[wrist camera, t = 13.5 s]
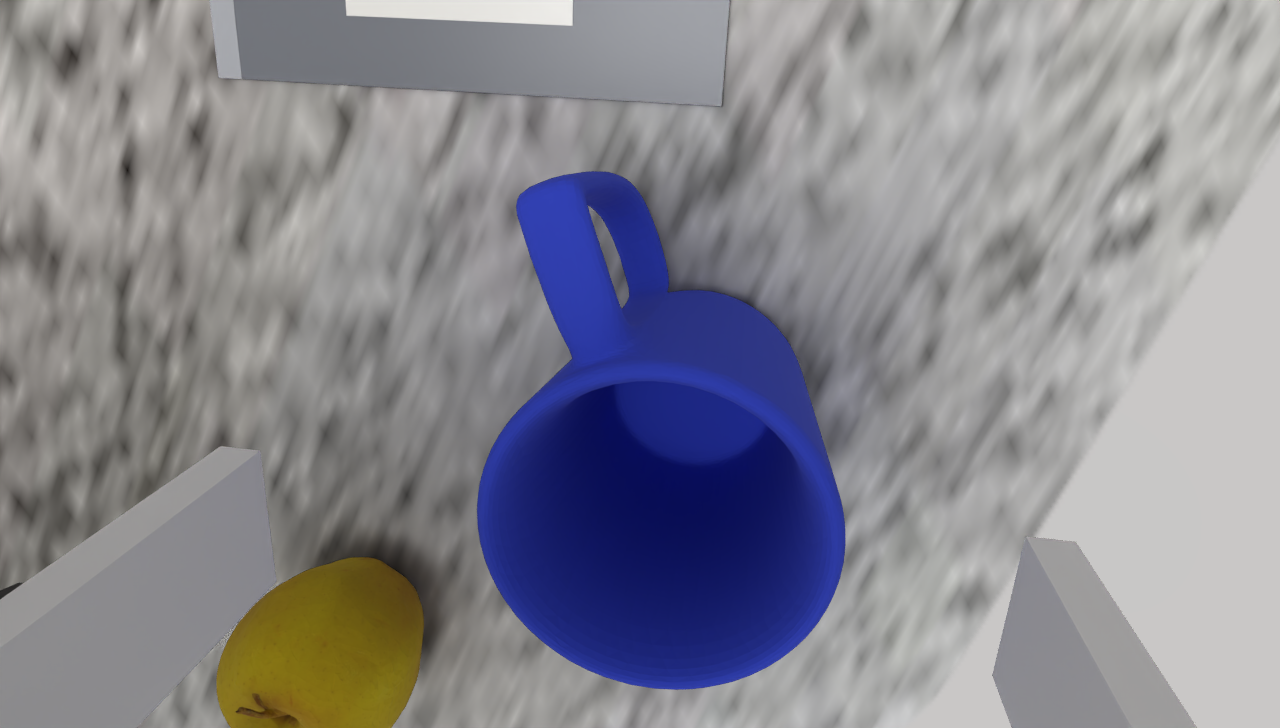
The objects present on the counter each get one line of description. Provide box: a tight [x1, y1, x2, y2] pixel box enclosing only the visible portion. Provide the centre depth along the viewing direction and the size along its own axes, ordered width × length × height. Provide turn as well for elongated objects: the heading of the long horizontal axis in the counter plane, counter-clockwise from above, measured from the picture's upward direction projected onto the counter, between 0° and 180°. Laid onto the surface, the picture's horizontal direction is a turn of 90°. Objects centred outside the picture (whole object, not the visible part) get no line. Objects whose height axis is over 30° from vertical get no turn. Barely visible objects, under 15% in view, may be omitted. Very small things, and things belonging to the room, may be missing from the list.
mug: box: [477, 171, 845, 690], centre depth 22 cm, size 8×12×10 cm
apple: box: [217, 557, 424, 728], centre depth 29 cm, size 6×6×8 cm
